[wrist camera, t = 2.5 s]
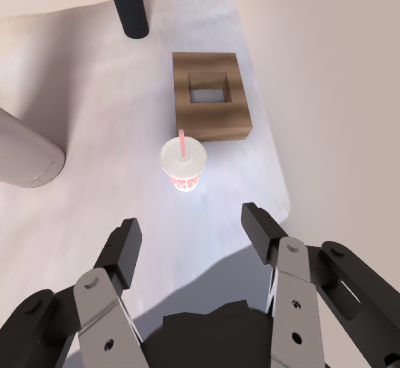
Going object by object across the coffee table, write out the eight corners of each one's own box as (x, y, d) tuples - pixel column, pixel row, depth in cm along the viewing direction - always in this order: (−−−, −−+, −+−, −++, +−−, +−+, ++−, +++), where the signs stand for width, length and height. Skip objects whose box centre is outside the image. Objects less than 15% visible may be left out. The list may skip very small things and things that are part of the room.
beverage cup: (199, 163, 29) (208, 105, 16) (203, 193, 27) (216, 157, 14) (168, 165, 28) (148, 107, 15) (169, 196, 27) (149, 162, 13)
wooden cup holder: (245, 139, 31) (252, 126, 28) (178, 142, 30) (176, 129, 26) (230, 71, 37) (235, 52, 33) (174, 71, 36) (172, 52, 32)
